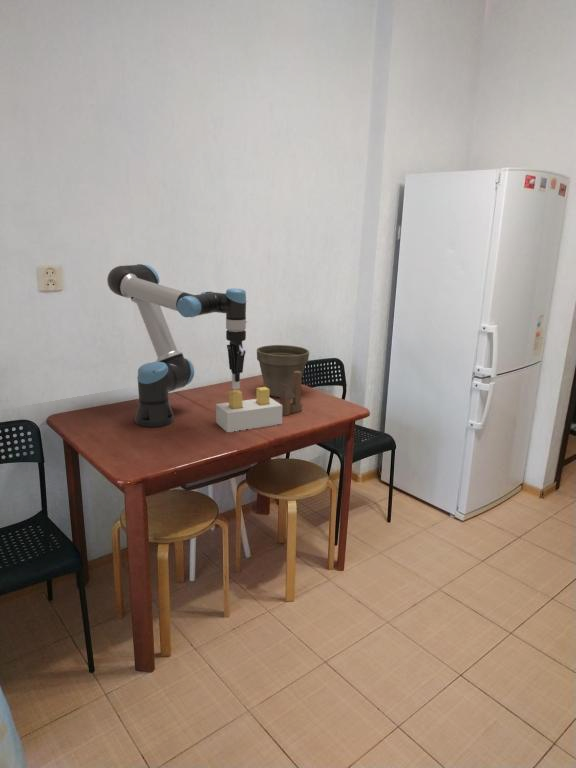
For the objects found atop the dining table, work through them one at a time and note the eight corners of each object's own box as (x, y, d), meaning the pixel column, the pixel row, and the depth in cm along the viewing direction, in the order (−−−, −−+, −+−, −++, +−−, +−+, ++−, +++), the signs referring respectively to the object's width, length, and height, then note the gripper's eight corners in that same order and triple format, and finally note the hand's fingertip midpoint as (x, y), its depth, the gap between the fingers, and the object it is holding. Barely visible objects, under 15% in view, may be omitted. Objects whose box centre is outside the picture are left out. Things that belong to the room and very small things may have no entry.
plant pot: (288, 383, 277) (289, 342, 271) (317, 396, 257) (319, 352, 251) (246, 390, 263) (247, 347, 257) (273, 404, 244) (275, 357, 238)
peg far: (260, 408, 217) (260, 390, 215) (256, 405, 221) (256, 387, 218) (269, 406, 219) (269, 389, 217) (264, 404, 222) (265, 386, 220)
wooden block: (278, 414, 231) (279, 373, 226) (296, 409, 238) (297, 369, 233) (284, 416, 228) (285, 375, 223) (302, 411, 236) (303, 371, 231)
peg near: (233, 412, 212) (233, 394, 210) (229, 409, 215) (229, 391, 213) (242, 410, 214) (242, 392, 211) (238, 407, 217) (238, 390, 215)
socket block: (227, 432, 208) (227, 413, 206) (216, 422, 218) (216, 404, 216) (281, 423, 219) (282, 405, 217) (268, 414, 230) (269, 397, 227)
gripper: (252, 332, 201) (251, 392, 208) (238, 326, 212) (238, 383, 219) (233, 333, 198) (233, 394, 205) (220, 327, 209) (220, 385, 216)
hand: (235, 388), depth 212 cm, fingers closed
